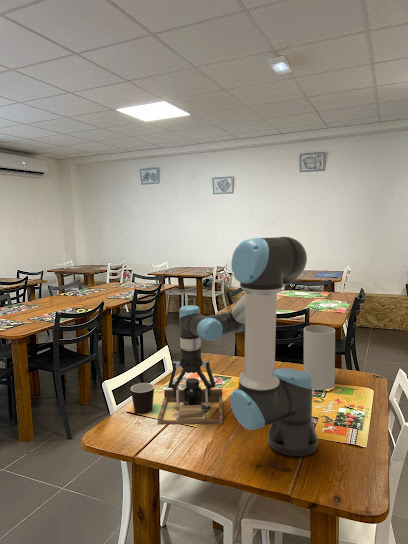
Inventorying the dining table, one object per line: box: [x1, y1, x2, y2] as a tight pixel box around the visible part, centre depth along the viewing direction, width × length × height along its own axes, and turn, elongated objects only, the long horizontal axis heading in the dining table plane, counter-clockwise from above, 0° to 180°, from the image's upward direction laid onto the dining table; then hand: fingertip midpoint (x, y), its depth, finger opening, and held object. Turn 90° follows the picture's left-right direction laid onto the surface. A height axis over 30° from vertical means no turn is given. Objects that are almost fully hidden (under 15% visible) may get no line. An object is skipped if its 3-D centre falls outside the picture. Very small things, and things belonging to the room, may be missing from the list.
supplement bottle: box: [183, 377, 203, 409], centre depth 148 cm, size 7×7×12 cm
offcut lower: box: [176, 412, 207, 420], centre depth 140 cm, size 4×10×3 cm, turn 86°
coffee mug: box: [130, 382, 155, 416], centre depth 148 cm, size 12×9×10 cm
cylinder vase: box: [303, 324, 336, 390], centre depth 165 cm, size 12×12×25 cm
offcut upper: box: [178, 405, 203, 418], centre depth 139 cm, size 4×8×3 cm, turn 91°
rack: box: [157, 388, 224, 425], centre depth 145 cm, size 18×22×6 cm
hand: (192, 405), depth 148 cm, fingers open, 10 cm apart
